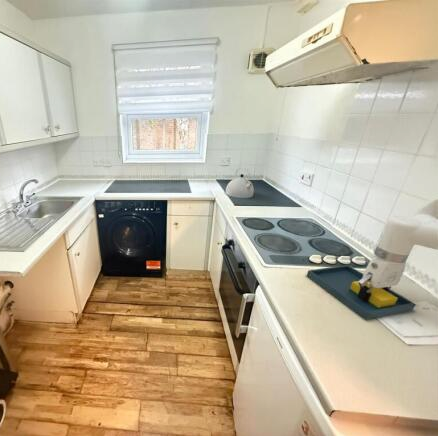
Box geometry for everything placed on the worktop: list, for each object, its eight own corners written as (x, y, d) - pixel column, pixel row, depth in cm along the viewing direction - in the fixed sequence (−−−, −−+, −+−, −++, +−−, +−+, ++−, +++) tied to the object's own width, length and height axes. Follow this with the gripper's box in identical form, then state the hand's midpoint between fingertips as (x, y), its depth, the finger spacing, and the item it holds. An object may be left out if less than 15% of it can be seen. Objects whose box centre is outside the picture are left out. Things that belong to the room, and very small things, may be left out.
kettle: (261, 197, 194) (266, 170, 186) (237, 199, 189) (241, 171, 180) (242, 189, 217) (246, 164, 208) (220, 191, 211) (223, 165, 202)
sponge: (348, 290, 88) (352, 281, 86) (363, 288, 89) (366, 279, 87) (377, 310, 79) (382, 300, 77) (393, 307, 80) (398, 298, 78)
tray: (345, 270, 101) (347, 264, 100) (412, 310, 80) (416, 304, 79) (306, 276, 97) (308, 270, 96) (365, 320, 76) (368, 313, 75)
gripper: (381, 263, 72) (361, 309, 79) (425, 257, 75) (402, 301, 82) (357, 251, 79) (340, 294, 86) (398, 245, 82) (378, 287, 89)
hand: (370, 297), depth 84 cm, fingers closed on sponge, 6 cm apart
